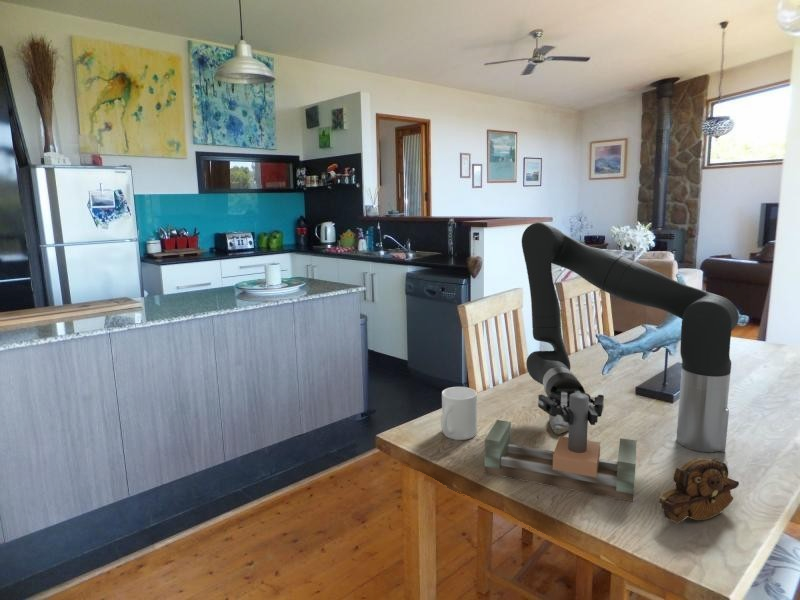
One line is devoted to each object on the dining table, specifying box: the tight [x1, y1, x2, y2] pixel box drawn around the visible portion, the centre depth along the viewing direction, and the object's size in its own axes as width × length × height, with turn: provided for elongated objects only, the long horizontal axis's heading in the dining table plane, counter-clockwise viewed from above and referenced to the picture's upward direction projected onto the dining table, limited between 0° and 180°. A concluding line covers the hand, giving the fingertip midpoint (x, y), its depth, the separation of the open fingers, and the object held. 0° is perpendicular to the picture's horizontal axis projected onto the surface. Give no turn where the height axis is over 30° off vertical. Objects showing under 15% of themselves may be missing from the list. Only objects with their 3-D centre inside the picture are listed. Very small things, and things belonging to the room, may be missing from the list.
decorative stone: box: [548, 415, 569, 435], centre depth 130 cm, size 6×16×3 cm, turn 157°
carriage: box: [553, 393, 601, 477], centre depth 103 cm, size 8×9×14 cm
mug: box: [440, 386, 478, 441], centre depth 124 cm, size 12×8×10 cm
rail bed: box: [484, 419, 637, 502], centre depth 106 cm, size 28×10×8 cm, turn 65°
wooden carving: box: [658, 457, 740, 524], centre depth 90 cm, size 16×5×10 cm, turn 115°
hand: (582, 420), depth 100 cm, fingers closed on carriage, 3 cm apart
